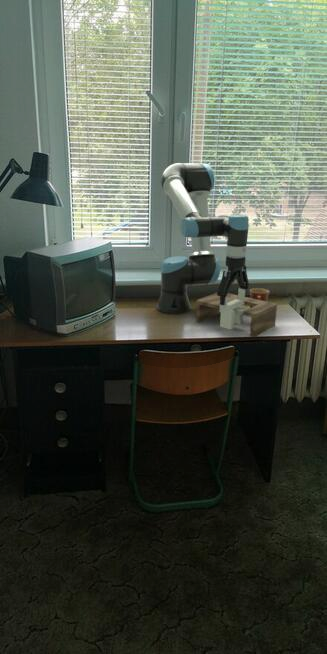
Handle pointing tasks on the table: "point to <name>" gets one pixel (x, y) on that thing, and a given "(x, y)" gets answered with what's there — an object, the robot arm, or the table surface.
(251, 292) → the mug
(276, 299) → the table surface
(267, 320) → the shelf
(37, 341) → the table surface
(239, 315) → the white plastic block
